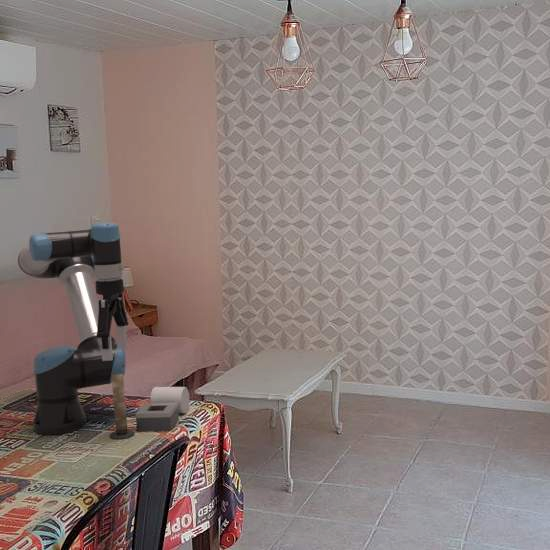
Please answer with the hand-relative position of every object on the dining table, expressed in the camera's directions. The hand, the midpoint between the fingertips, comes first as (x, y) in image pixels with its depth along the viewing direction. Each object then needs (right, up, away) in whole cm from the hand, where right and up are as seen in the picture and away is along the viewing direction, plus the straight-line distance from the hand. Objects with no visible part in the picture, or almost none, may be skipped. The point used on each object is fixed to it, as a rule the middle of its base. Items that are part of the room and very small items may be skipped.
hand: (115, 354), depth 210 cm
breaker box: (+11, -22, +10) cm, 26 cm away
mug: (+13, -20, +24) cm, 34 cm away
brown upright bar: (+1, -23, +3) cm, 23 cm away
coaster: (+1, -23, +3) cm, 23 cm away
